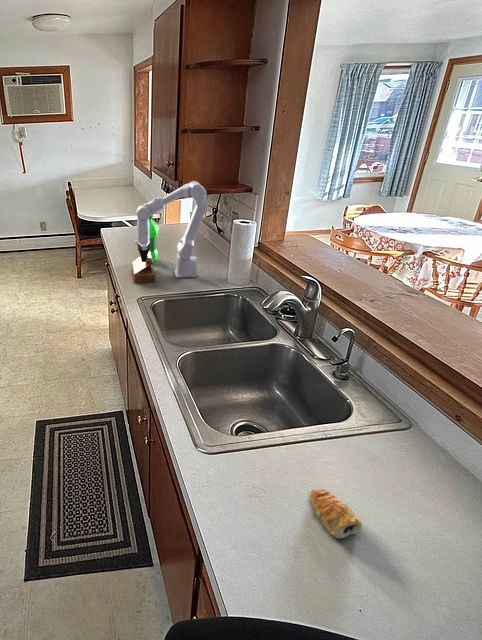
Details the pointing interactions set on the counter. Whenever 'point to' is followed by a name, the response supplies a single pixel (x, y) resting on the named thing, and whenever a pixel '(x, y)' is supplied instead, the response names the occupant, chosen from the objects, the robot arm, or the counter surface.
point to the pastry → (334, 514)
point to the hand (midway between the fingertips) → (143, 259)
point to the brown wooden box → (145, 275)
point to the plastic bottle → (153, 238)
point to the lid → (142, 264)
